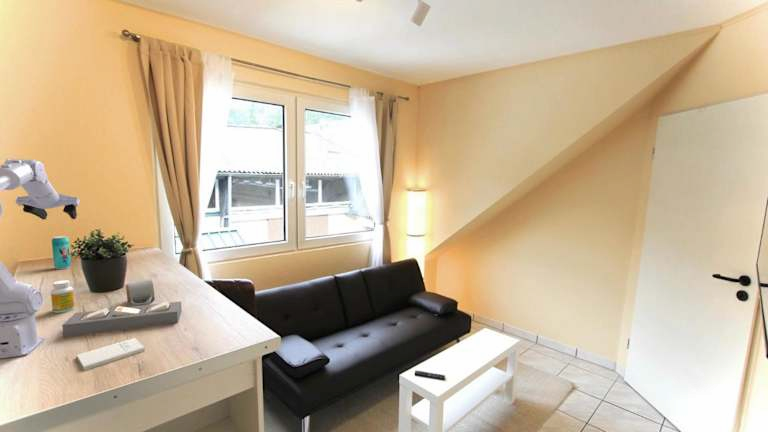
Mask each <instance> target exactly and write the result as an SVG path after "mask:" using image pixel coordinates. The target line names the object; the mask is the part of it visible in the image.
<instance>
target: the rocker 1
mask: <svg viewBox="0 0 768 432" xmlns="http://www.w3.org/2000/svg"><path fill="white" fill-rule="evenodd" d="M108 309H109V308H108V307H105V308H101V309H99V311H97V310H95V311H96V312H93V313H90V314H88V315H85V316H84V317H83V318H82V319H81V320H84V319H93V318H101V317H104V316H106V315H107V313H108V312H109V310H108Z"/></svg>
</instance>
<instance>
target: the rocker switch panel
mask: <svg viewBox="0 0 768 432" xmlns="http://www.w3.org/2000/svg"><path fill="white" fill-rule="evenodd" d="M158 304H159V303H155V304H154V303H153V304H148V305H143V306H127V308H134V309H141V310H140V311H139V313H136V314H127V315H119V316H117V315H113V314H114V311H115V309H116V308H108V310H109V312H108V313H107V315H106V316H104V317H101V318H93V319H84V320H81V319H82V318H83V317H84V316H85V315H88V314H90V313H93V312H96V311H99V310H100V309H99V310H98V309H97V310H91V311H90V310H89V311H88V310H87V311H82V312H75V313H74V314H73V315H72V316H71V317H69V318H68V319H67V320H66V321H65V322H64V323H63V324H61V325H62V335H63V338H68V337H74V336H82V335H90V334H91V335H93V334H98V333H106V332H114V331H122V330H128V329H136V328H144V327H153V326H160V325H168V324H174V323H179V320H180V317H181V314H182V310H183V309H182V301H171V302H169V304H170V305H169V307H168V309H166V310H162V311H153V312H146V310H147V309H148V308H151V307H153V306H156V305H158Z"/></svg>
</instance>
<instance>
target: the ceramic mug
mask: <svg viewBox="0 0 768 432" xmlns="http://www.w3.org/2000/svg"><path fill="white" fill-rule="evenodd" d="M125 290H126V291H125V292H126V299H127V303H129V304H131V305H132V307H134V306H143V305H150V303H151V302H152V301H153V300H155V299H156V297H155V288H154V280H153V278H148V279H144V280H143V279H142V280H138V281H133V282H129V283H127V284H126V285H125Z"/></svg>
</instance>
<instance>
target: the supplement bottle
mask: <svg viewBox="0 0 768 432" xmlns="http://www.w3.org/2000/svg"><path fill="white" fill-rule="evenodd" d="M70 283H71V282H70V280H68V279H66V280H65V279H64V280H57V281H55V282H52V288H53V289H51V290H50V296H51V298H50V299H51V307H52V312H53V313H56V314H57V313H67V312H70V311H72V310H74V309H75V299H74V298H75V297H74V288H73V287H72V286H70V285H71V284H70Z"/></svg>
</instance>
